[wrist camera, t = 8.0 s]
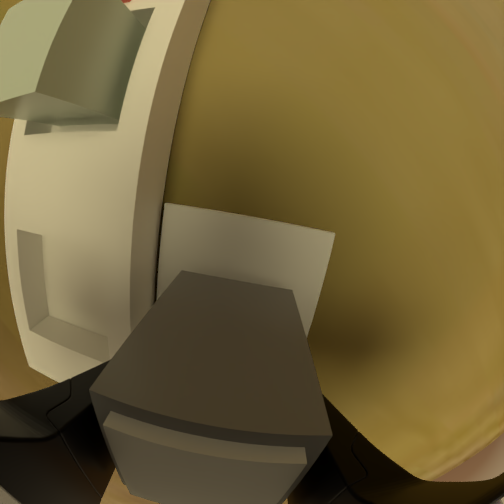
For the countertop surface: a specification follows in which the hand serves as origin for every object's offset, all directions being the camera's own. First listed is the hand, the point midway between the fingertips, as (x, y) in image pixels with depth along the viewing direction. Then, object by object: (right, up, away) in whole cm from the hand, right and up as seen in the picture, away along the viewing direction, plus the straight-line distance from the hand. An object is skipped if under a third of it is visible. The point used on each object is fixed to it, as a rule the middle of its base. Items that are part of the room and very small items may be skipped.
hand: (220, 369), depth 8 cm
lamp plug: (-6, +12, +1) cm, 13 cm away
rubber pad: (0, +1, +5) cm, 5 cm away
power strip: (-7, +7, +3) cm, 10 cm away
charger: (0, +1, +3) cm, 3 cm away
